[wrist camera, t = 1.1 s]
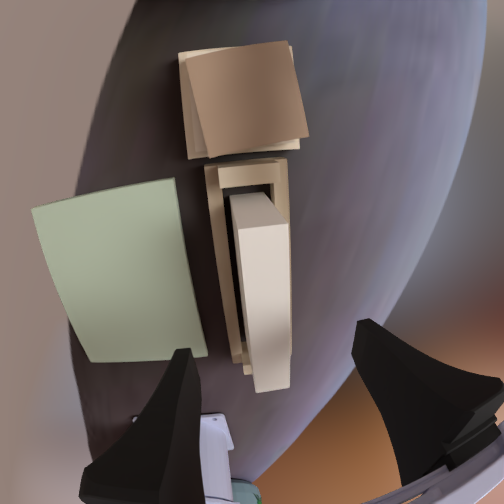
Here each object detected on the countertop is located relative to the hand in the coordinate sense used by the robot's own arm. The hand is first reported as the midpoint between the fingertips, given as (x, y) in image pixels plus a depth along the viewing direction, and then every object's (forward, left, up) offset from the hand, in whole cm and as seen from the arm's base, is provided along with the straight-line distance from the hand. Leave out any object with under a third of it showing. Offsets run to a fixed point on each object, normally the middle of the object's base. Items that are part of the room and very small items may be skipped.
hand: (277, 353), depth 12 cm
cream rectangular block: (0, 0, -8) cm, 8 cm away
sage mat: (-9, 0, -8) cm, 12 cm away
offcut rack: (0, +3, -8) cm, 8 cm away
